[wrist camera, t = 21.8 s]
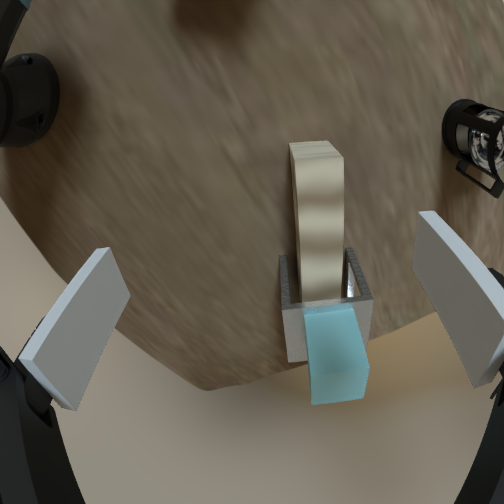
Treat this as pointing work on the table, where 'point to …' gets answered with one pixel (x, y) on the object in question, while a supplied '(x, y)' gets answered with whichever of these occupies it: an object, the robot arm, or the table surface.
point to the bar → (318, 218)
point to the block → (335, 357)
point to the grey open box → (324, 307)
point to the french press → (477, 140)
